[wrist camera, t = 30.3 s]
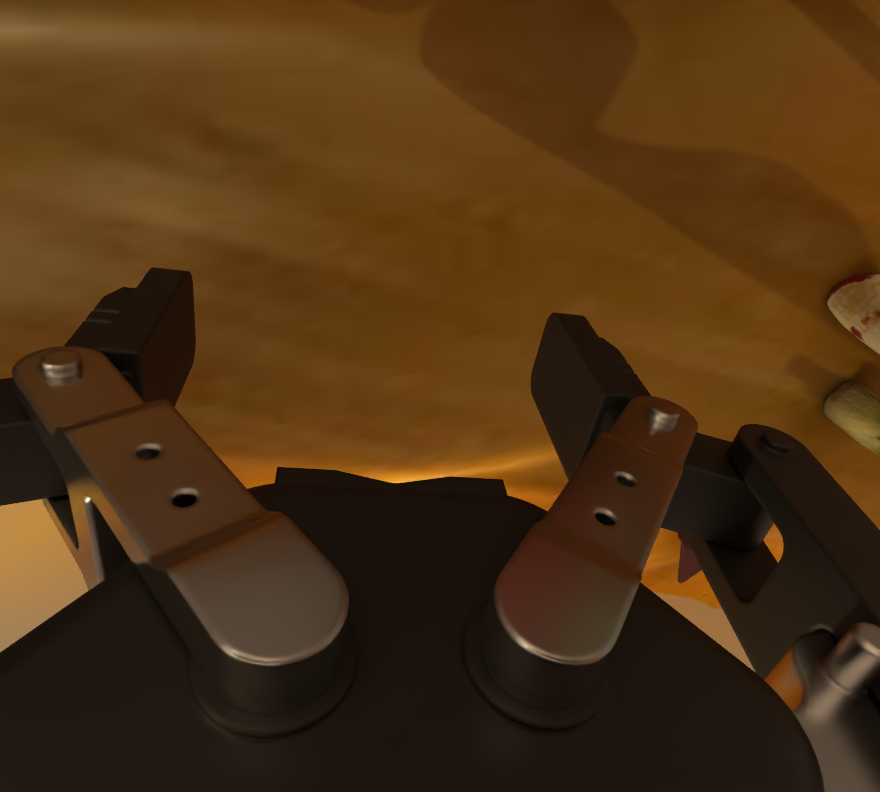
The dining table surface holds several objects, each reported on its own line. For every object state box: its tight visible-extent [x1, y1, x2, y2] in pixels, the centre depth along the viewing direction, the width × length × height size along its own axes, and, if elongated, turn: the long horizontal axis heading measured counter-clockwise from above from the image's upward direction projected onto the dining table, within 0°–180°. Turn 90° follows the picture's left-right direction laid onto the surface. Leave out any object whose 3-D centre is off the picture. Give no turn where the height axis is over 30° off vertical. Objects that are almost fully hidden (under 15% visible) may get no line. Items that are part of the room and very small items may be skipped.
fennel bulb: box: [824, 381, 880, 456], centre depth 63 cm, size 6×5×12 cm
